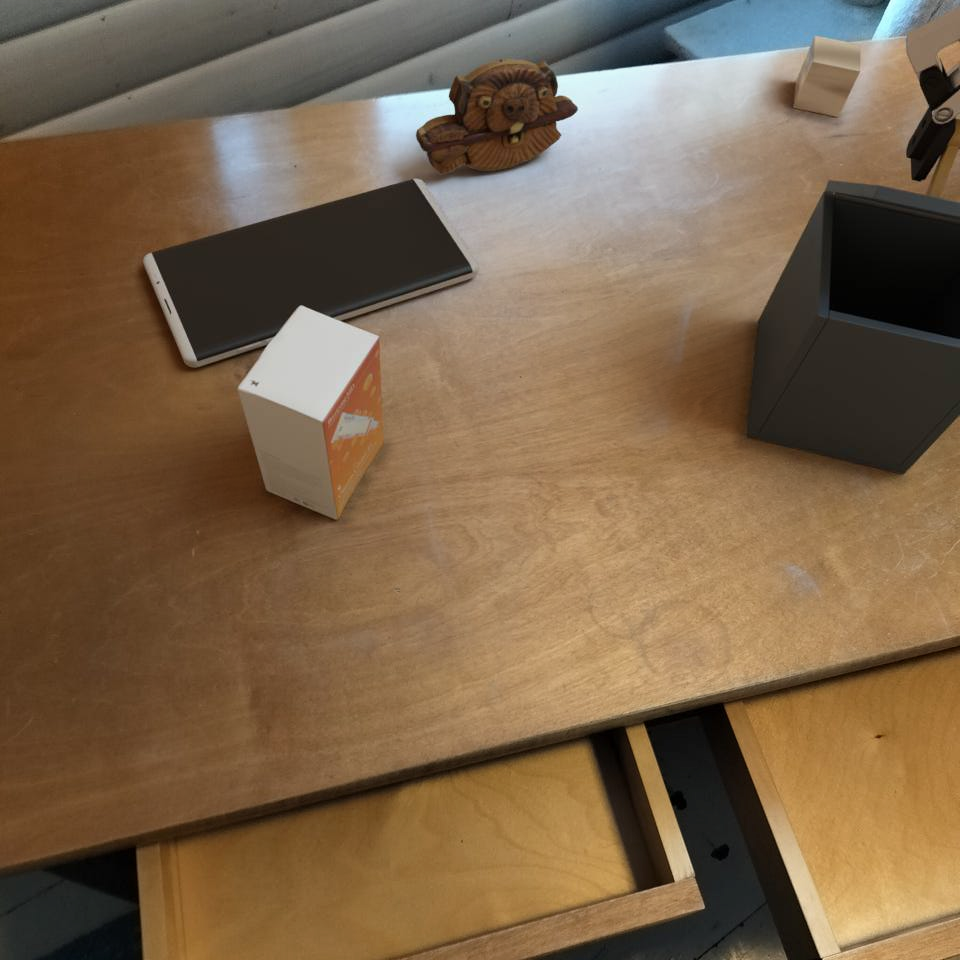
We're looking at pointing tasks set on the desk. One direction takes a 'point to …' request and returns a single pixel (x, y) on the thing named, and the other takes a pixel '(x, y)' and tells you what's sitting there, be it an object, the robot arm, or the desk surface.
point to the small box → (315, 410)
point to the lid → (909, 199)
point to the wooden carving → (497, 117)
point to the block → (827, 76)
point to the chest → (862, 336)
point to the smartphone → (306, 268)
